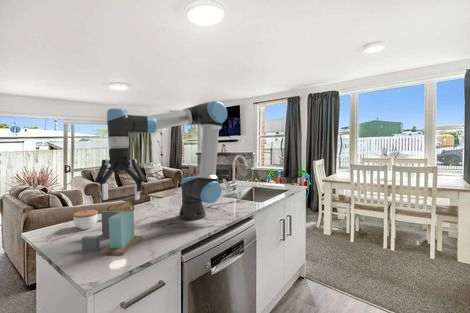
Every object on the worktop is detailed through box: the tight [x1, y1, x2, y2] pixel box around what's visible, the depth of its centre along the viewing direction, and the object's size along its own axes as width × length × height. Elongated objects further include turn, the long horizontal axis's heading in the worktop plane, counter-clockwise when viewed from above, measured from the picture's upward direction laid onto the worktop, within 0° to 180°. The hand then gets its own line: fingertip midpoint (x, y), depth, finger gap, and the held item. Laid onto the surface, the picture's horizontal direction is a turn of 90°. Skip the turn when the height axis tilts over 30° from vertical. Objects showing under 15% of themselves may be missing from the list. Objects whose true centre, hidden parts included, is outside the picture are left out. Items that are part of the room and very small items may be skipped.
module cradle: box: [81, 210, 121, 252], centre depth 103 cm, size 10×17×11 cm, turn 176°
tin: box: [106, 201, 135, 211], centre depth 139 cm, size 15×3×8 cm, turn 139°
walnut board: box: [99, 235, 143, 256], centre depth 99 cm, size 9×16×1 cm, turn 176°
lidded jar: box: [72, 208, 99, 231], centre depth 122 cm, size 11×11×9 cm
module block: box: [108, 210, 136, 248], centre depth 98 cm, size 5×10×12 cm, turn 176°
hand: (121, 199), depth 98 cm, fingers open, 13 cm apart
